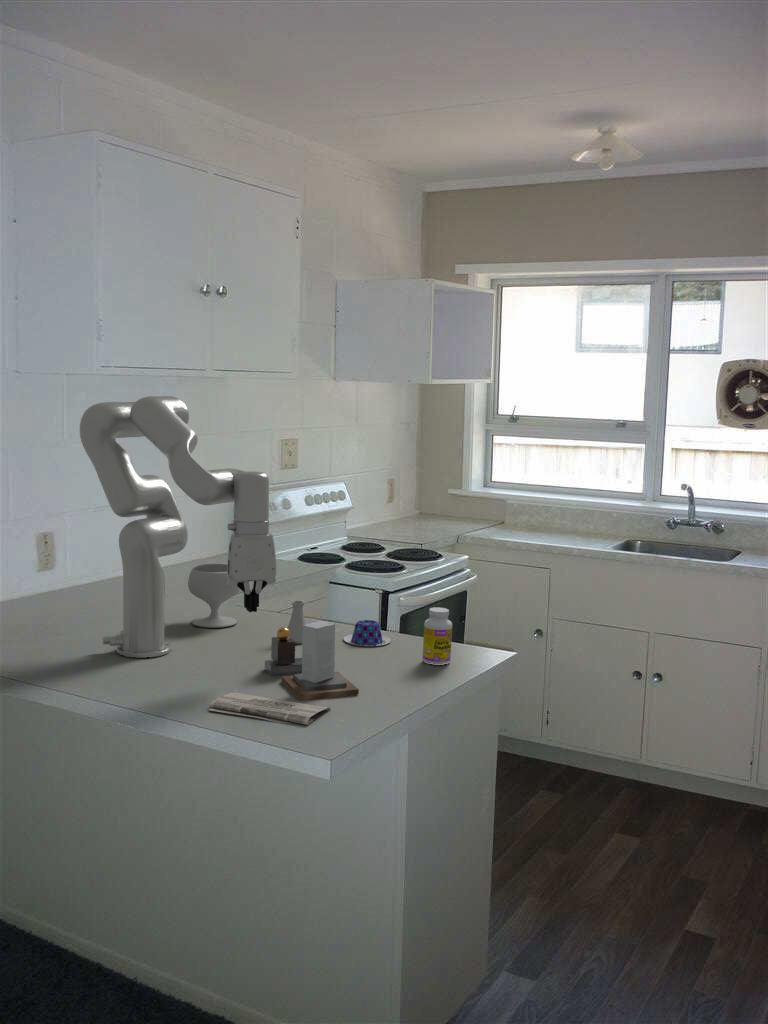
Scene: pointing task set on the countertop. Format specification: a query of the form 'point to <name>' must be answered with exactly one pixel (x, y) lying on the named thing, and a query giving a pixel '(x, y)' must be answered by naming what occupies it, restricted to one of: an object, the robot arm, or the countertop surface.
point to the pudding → (366, 634)
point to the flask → (297, 622)
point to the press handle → (283, 647)
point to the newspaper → (266, 708)
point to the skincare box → (318, 651)
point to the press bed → (319, 687)
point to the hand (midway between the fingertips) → (251, 610)
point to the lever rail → (284, 667)
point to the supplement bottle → (437, 637)
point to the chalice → (212, 593)
